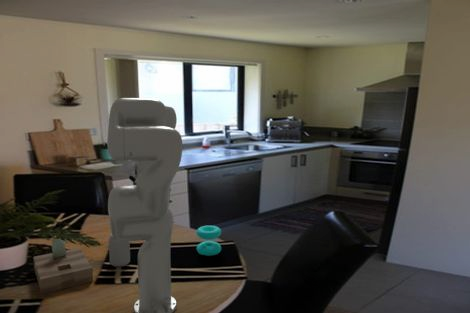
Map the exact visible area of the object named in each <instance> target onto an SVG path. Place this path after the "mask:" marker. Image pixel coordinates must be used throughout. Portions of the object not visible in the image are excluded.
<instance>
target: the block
mask: <svg viewBox="0 0 470 313" xmlns="http://www.w3.org/2000/svg"><path fill="white" fill-rule="evenodd" d="M32 258H33V267H34V268H33V269H35V270H34V274H35V276H37V277H36V279H37V284H38V286H39V290H40V293H41V295H43V294H46V293H50V292H55V291H59V290H62V289H66V288H67V289H68V288H71V287H76V286H79V285H84V284H87V283H88V284H89V283H91V282H94V276H93V275H94V274H93V272H94V271H93V266H92V265H91V262H90V261H89V260H88V257H87V256H86V255H85V253H84V252H83V250H82V249H81V247H77V248H71V249H67V250H66V257H65V258H63V259H58V260H55V259H53V253H52V252H50V253H46V254H42V255H37V256H36V255H35V256H33V257H32Z"/></svg>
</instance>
